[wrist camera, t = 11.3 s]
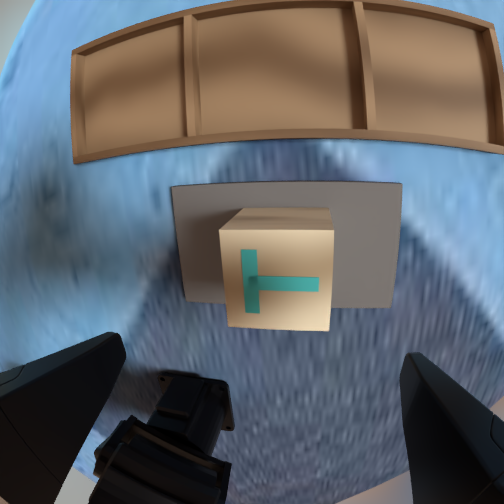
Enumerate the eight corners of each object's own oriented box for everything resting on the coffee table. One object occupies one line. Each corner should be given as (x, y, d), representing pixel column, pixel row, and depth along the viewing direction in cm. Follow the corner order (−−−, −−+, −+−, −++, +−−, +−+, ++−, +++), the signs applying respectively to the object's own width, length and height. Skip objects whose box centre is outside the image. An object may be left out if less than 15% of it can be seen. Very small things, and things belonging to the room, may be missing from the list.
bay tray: (498, 153, 14) (509, 155, 13) (86, 162, 20) (73, 164, 19) (483, 29, 11) (493, 23, 10) (84, 53, 17) (71, 50, 16)
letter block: (326, 286, 19) (328, 331, 14) (248, 284, 20) (228, 326, 15) (328, 207, 17) (334, 230, 13) (243, 208, 18) (218, 230, 14)
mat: (389, 303, 19) (390, 307, 18) (189, 297, 22) (186, 301, 21) (399, 182, 16) (402, 184, 16) (175, 185, 19) (171, 186, 19)
